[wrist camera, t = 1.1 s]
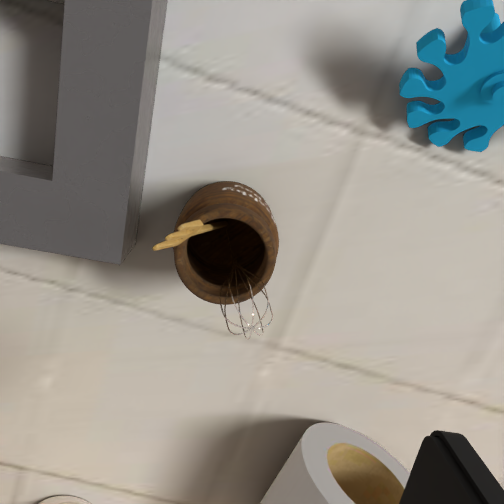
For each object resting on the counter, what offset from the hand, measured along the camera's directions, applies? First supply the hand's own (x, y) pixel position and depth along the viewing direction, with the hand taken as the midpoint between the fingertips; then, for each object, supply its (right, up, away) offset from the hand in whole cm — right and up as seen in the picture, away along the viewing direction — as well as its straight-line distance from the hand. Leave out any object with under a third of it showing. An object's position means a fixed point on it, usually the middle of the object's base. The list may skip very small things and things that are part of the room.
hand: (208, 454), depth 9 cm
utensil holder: (-1, +6, +19) cm, 20 cm away
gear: (+14, +14, +17) cm, 26 cm away
